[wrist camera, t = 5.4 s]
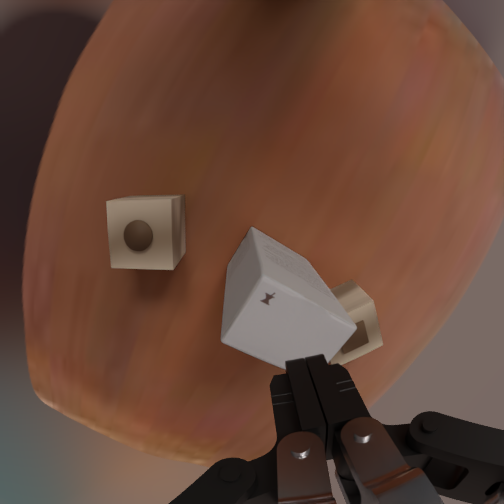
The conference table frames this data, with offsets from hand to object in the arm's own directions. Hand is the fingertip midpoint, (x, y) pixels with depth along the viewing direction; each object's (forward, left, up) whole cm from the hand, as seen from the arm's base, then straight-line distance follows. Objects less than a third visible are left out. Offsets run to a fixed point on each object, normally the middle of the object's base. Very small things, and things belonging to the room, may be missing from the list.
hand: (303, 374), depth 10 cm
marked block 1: (-5, -9, -15) cm, 18 cm away
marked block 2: (+6, +6, -15) cm, 17 cm away
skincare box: (0, 0, -15) cm, 15 cm away
